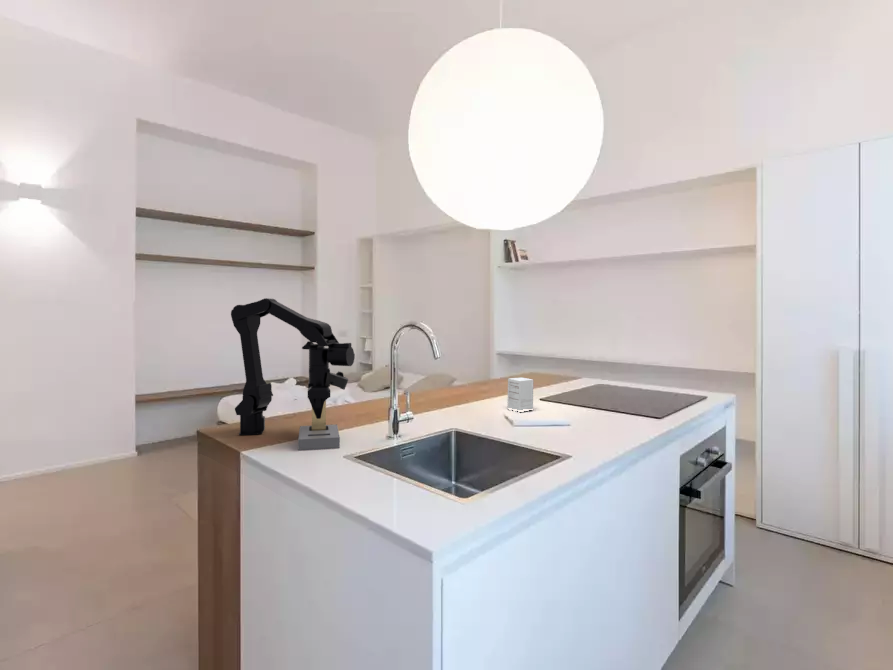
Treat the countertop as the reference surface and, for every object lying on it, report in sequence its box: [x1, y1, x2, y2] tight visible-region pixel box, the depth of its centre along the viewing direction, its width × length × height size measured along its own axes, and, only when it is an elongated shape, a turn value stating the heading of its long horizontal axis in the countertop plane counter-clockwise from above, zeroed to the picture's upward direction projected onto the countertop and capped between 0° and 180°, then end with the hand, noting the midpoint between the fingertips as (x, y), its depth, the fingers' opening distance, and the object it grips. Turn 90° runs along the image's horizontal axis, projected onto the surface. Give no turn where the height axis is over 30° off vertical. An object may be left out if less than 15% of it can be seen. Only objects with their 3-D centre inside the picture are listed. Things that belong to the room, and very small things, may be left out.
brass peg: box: [311, 400, 327, 431], centre depth 144 cm, size 4×4×10 cm
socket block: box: [297, 424, 341, 451], centre depth 141 cm, size 11×16×3 cm
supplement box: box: [507, 377, 534, 410], centre depth 191 cm, size 7×7×13 cm
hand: (318, 416), depth 144 cm, fingers closed on brass peg, 4 cm apart
